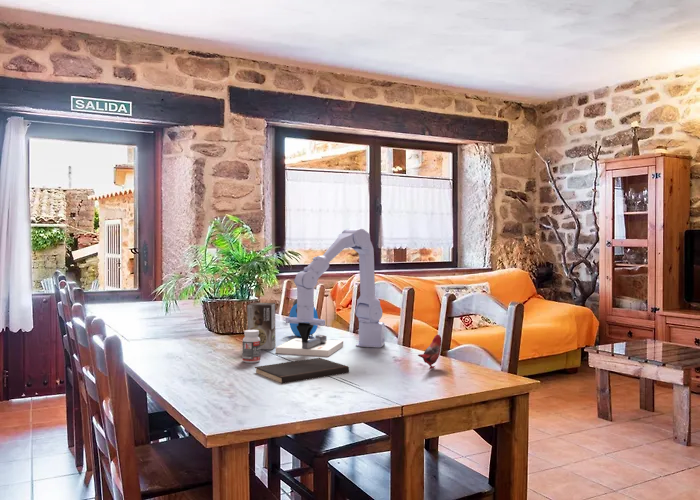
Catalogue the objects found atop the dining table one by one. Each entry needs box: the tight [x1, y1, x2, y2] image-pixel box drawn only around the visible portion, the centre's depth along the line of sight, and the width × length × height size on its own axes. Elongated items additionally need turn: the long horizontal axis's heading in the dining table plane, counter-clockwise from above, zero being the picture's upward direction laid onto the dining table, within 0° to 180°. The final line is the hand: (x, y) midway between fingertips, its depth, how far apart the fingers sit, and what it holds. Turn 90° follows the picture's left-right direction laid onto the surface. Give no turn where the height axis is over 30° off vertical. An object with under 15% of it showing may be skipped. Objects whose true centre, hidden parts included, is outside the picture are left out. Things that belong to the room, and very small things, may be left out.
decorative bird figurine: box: [417, 334, 442, 370], centre depth 177 cm, size 3×18×10 cm, turn 149°
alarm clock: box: [288, 298, 319, 338], centre depth 237 cm, size 13×6×15 cm, turn 38°
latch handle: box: [302, 334, 327, 349], centre depth 205 cm, size 15×4×2 cm, turn 157°
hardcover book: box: [254, 357, 350, 385], centre depth 174 cm, size 16×23×2 cm
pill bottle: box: [241, 329, 261, 364], centre depth 188 cm, size 6×6×10 cm
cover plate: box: [275, 337, 344, 357], centre depth 208 cm, size 19×19×2 cm
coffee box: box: [246, 302, 277, 350], centre depth 211 cm, size 9×6×16 cm
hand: (305, 345), depth 202 cm, fingers closed
